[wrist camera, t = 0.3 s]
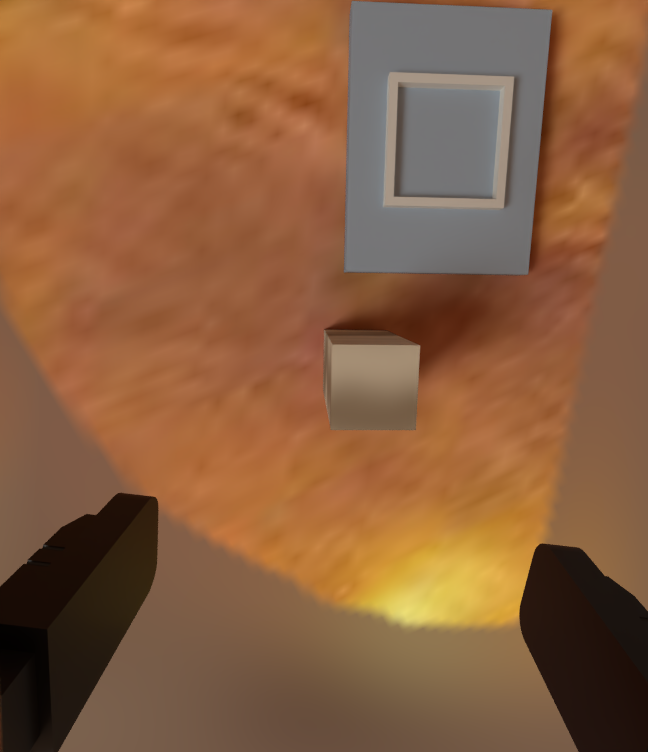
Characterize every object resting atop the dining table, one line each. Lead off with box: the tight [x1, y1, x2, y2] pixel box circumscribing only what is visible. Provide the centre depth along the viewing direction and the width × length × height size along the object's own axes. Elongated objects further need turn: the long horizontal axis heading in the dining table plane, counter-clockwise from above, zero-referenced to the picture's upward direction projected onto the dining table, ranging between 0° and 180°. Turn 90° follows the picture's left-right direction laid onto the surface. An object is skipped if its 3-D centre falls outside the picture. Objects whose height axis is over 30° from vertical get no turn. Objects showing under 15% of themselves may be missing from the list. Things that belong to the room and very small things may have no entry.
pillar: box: [323, 330, 420, 430], centre depth 32 cm, size 5×5×11 cm
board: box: [344, 1, 552, 275], centre depth 33 cm, size 18×14×2 cm
